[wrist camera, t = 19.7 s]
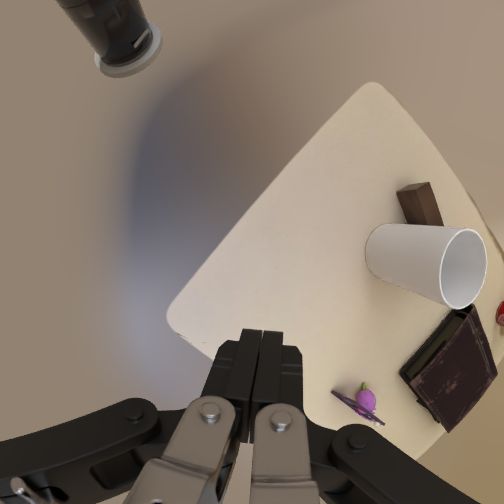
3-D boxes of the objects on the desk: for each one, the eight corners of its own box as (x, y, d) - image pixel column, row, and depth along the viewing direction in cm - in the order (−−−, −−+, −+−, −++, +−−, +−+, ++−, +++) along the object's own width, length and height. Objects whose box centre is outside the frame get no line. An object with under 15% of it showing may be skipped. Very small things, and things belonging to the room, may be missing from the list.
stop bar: (395, 191, 37) (415, 189, 32) (409, 184, 37) (429, 181, 32) (423, 274, 39) (443, 281, 34) (435, 266, 39) (455, 271, 34)
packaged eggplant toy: (352, 408, 33) (381, 429, 34) (373, 378, 35) (399, 403, 36) (327, 395, 39) (357, 417, 41) (346, 369, 41) (373, 393, 42)
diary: (460, 296, 40) (478, 303, 35) (487, 364, 44) (500, 372, 39) (393, 374, 41) (407, 388, 36) (434, 424, 44) (446, 436, 39)
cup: (395, 288, 39) (467, 320, 23) (355, 264, 38) (426, 291, 22) (417, 240, 38) (494, 251, 22) (380, 213, 37) (458, 212, 21)
